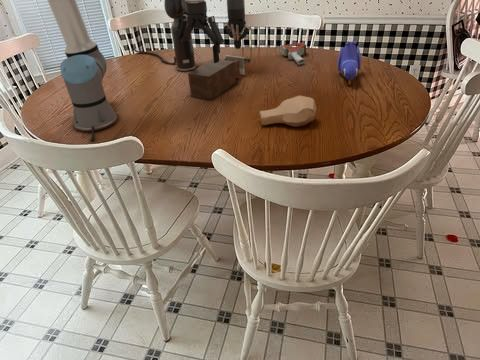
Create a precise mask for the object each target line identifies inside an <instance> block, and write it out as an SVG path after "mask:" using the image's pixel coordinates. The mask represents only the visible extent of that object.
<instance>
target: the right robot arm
mask: <svg viewBox="0 0 480 360" xmlns="http://www.w3.org/2000/svg"><path fill="white" fill-rule="evenodd" d="M186 2H187V1H185V0H164V11H165V13H166V15H167V16H168V17H169V19H172V20H173V21H172V24H171V26H170V32H171V37H172V43H173V50H174V56H173V62H169V61H167V60H164V58H163V57H162V56H161V55H159V54H158V53H155V52H150V51H142V50H141V51H140V50H137V49H136V48H134V47H133V48H132V49H131V52H135V53H137V54H146V55H152V56H155V57H157V58H159V59H160V60H161V61H162V63H165V64H167V65H170V66H172V65H173V66H175V65H176V70H177V71H179V72H189V71H190V72H191V71H193V70H195V69H197V66H196V58H195V51H194V43H193V42H194V41H193V36H192V33H191V34H190V36H189V37H188V39H187V41H189V44H190V51H191V58H189V59H186V57H185V50H184V49H183V44H182V41H181V40H178V39H177V36H178V32H179V28H180V24H181V15H184V14H187V12H186ZM245 3H246V2H245V0H226V11H227V24H226V25H224V26H223V29H224V31H225V32H226V33H227V35H228V37H229V38H230V39H232V40H233V41H234V43H233V45H234V48H235V49H237V50H239V49H241V48H242V46H243V45H242V40H243V39H246V37H247V36H248V33H249V32H250V30H251V26H248V24H247V22H246V6H245ZM187 15H188V14H187ZM189 23H190V22H189V21H187V25H186V29H185V31H186V30H187V28H188V25H189Z"/></svg>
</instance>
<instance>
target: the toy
mask: <svg viewBox="0 0 480 360" xmlns="http://www.w3.org/2000/svg"><path fill="white" fill-rule="evenodd" d="M356 44H358V43H357V41H355V40H353V41H351V42H350V41H346V42H345V45H344V46H341V47H340V50H339V53H338V56H337V61H336V62H337V63H336V68H337V71H339V73H340V74H341V75H342V76H343V77H344V78H345V80H347V83H348V86H350V85H351V83H352V81H353V80H354V79H356V77H357V76H358V75H359V71H360V70H361V67H362V54H361V50H360V46H359V45H357V46H356Z"/></svg>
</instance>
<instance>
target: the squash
mask: <svg viewBox="0 0 480 360" xmlns="http://www.w3.org/2000/svg"><path fill="white" fill-rule="evenodd" d="M317 109H318V107H317V104H316V101H315V99H314V98H312V97H310V96H305V95H300V94H299V95H296V96H293V97H291V98H287V99H284V100H283V101H282V102H281V103H280V104H279V105H278V106H277V107H275V108H271V109H266V110H260V111H259V112H258V115H259V116H258V117H259V118H260V123H261V125H262V126H268V125H272V124H285V125H288V126H291V127H294V128H295V127H304V126H306V125H308V124H309V123H311V122H313V121H314V120H315V117H316V115H317Z"/></svg>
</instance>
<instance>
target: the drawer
mask: <svg viewBox="0 0 480 360" xmlns="http://www.w3.org/2000/svg"><path fill="white" fill-rule="evenodd" d="M222 60H228V61H235V76H236V78H238V77H239V76H244V75H246V71H245V65H246V64H247V63H251V59H250V58H246V57H245V56H236V55H229V54H227V55H225V58H222Z"/></svg>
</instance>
